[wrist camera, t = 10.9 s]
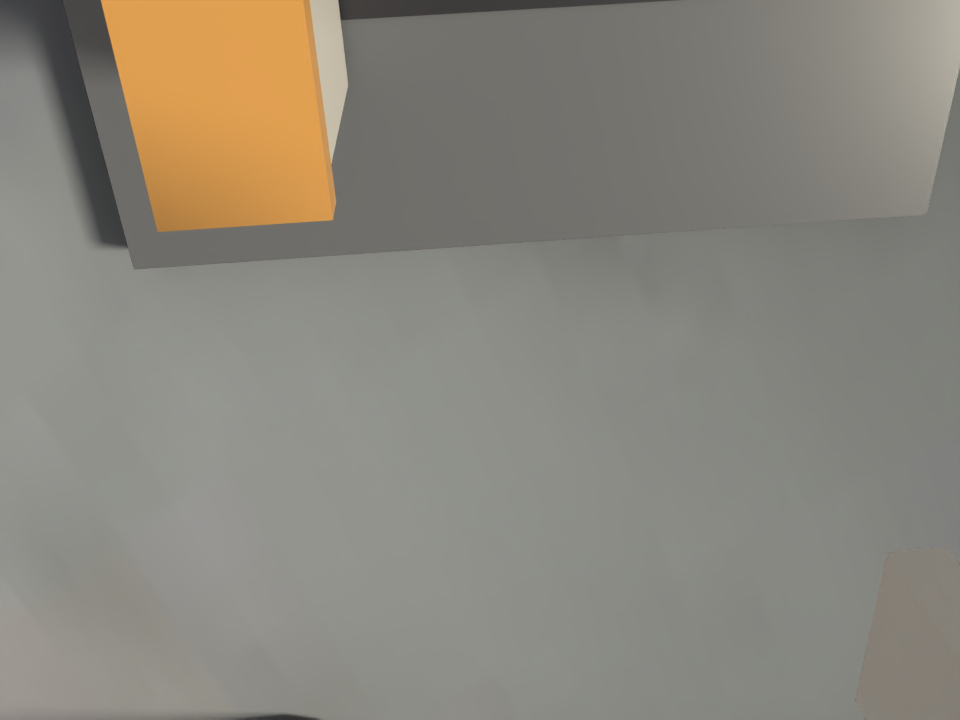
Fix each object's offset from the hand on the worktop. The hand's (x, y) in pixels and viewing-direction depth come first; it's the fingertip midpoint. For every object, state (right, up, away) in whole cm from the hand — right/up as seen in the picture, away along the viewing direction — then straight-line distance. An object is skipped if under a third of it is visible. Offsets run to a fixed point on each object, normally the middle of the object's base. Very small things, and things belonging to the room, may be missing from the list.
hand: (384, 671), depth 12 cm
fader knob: (-4, +14, +13) cm, 19 cm away
